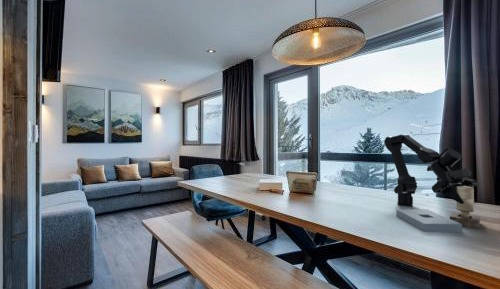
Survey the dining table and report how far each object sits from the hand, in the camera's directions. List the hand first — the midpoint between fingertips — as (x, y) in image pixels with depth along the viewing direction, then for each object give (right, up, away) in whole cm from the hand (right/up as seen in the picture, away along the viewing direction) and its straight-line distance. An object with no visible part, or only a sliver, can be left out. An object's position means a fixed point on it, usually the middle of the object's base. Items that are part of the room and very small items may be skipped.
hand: (468, 203), depth 102 cm
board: (-16, -9, +2) cm, 19 cm away
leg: (0, -7, +1) cm, 7 cm away
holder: (0, -9, +2) cm, 9 cm away
